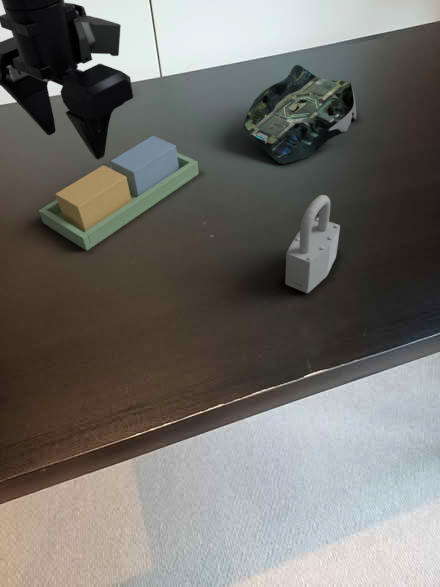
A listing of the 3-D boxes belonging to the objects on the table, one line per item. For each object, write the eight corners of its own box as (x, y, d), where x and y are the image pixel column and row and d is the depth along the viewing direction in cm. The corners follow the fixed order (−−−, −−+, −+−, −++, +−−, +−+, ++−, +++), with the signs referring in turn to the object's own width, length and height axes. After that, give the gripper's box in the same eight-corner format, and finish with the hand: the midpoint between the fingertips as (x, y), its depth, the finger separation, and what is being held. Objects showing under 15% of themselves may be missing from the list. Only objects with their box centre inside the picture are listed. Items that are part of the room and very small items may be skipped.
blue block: (138, 197, 72) (133, 172, 69) (116, 185, 74) (110, 160, 71) (179, 170, 76) (176, 145, 73) (157, 159, 78) (152, 135, 75)
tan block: (85, 232, 68) (77, 207, 65) (63, 218, 70) (55, 193, 67) (132, 201, 71) (126, 176, 69) (109, 189, 74) (103, 164, 71)
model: (238, 164, 81) (321, 181, 74) (227, 110, 75) (317, 122, 68) (300, 102, 91) (378, 111, 84) (295, 50, 85) (379, 55, 78)
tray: (86, 251, 66) (82, 238, 64) (43, 222, 70) (38, 210, 69) (198, 174, 76) (197, 161, 74) (154, 153, 80) (152, 141, 79)
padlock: (310, 247, 64) (315, 177, 57) (340, 259, 62) (350, 188, 55) (280, 283, 60) (282, 213, 53) (312, 297, 58) (318, 226, 51)
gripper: (160, -8, 51) (179, 139, 62) (44, -36, 60) (79, 97, 71) (67, 30, 45) (106, 184, 56) (-45, -7, 54) (8, 132, 65)
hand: (74, 145), depth 62 cm, fingers open, 9 cm apart
